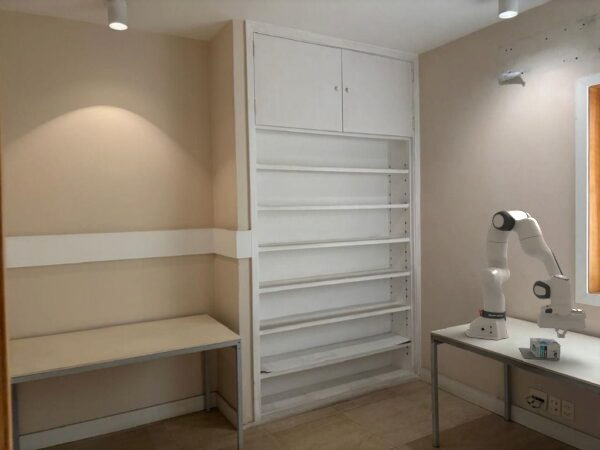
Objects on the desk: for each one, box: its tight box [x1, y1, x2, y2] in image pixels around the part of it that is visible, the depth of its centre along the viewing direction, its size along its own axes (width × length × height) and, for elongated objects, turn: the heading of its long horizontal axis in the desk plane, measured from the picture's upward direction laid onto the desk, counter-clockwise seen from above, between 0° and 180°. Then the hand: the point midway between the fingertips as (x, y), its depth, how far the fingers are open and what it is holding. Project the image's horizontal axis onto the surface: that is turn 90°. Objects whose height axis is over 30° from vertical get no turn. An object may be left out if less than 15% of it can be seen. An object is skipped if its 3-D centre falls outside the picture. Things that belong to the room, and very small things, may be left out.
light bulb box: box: [529, 337, 561, 359], centre depth 227 cm, size 11×7×11 cm
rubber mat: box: [518, 347, 558, 362], centre depth 229 cm, size 14×16×1 cm
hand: (561, 337), depth 226 cm, fingers closed
